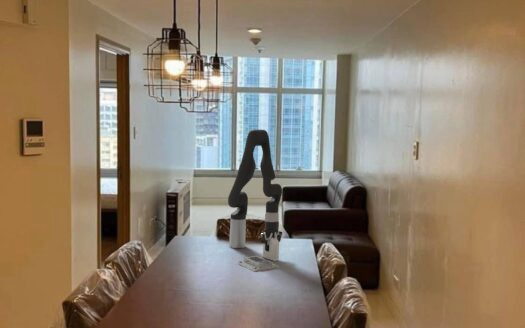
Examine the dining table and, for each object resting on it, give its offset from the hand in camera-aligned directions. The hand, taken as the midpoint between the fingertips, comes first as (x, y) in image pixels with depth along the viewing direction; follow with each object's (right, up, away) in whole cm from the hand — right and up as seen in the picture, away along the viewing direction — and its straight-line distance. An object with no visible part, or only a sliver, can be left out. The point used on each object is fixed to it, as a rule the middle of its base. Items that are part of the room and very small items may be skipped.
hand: (270, 250), depth 275 cm
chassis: (-7, -6, -13) cm, 16 cm away
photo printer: (0, -5, 0) cm, 5 cm away
